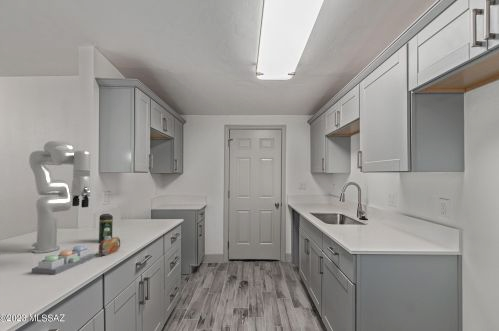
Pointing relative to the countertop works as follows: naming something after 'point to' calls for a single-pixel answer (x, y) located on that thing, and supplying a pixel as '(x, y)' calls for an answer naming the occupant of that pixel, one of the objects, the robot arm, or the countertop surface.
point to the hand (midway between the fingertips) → (80, 206)
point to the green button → (51, 258)
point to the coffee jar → (105, 227)
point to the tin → (109, 246)
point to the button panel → (63, 263)
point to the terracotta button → (66, 253)
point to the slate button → (78, 248)
